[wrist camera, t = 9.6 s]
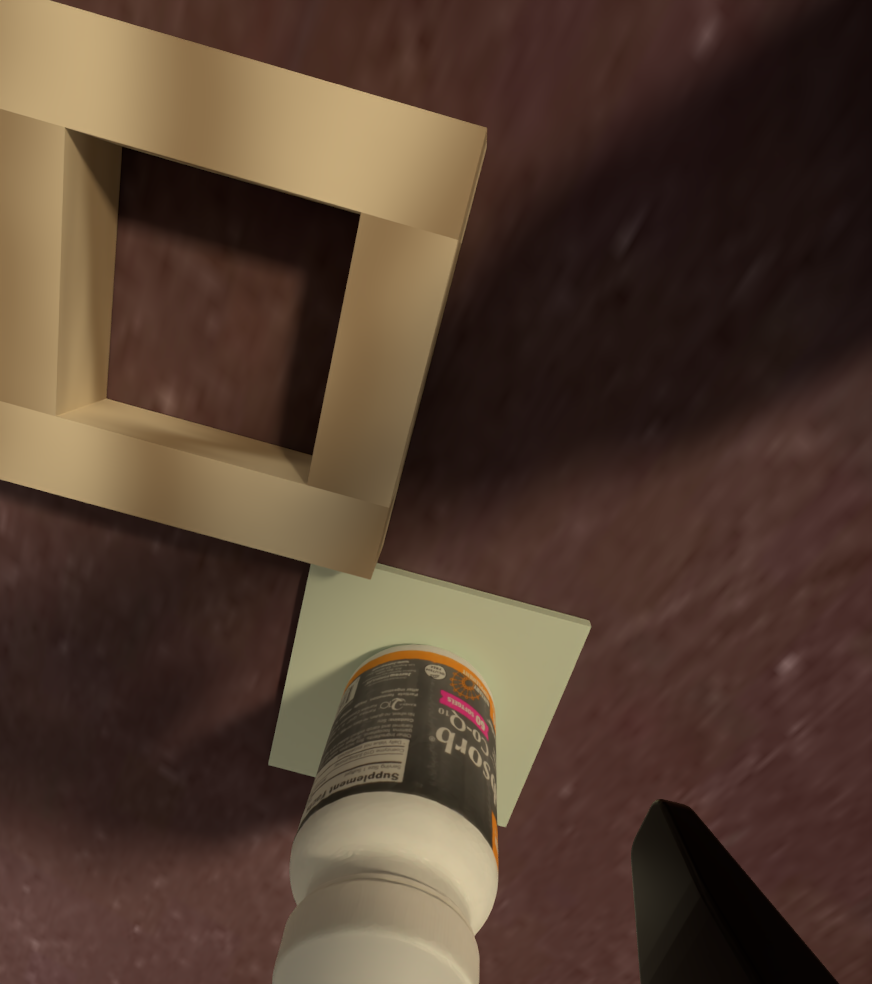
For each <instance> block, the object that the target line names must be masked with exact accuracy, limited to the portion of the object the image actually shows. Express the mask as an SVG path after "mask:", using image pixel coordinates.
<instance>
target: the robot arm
mask: <svg viewBox="0 0 872 984" xmlns="http://www.w3.org/2000/svg"><path fill="white" fill-rule="evenodd" d="M631 866H632V879H633V892H634V905H635V918H636V932H637V945H638V958H639V971H640V981H641V984H839V983H838V982H837V981H836V979H835V978H834V977H833V976H832V975H831V973H830V972H829V971H828V970H827V969H826V968H825V966H824V965H823V964H822V963H821V962H820V960H819V959H818V958H817V957H816V956H815V954H814V953H813V952H812V951H811V950H810V949H809V947H808V946H807V945H806V944H805V943H804V941H803V940H802V939H801V938H800V937H799V935H798V934H797V933H796V932H795V931H794V930H793V928H792V927H791V926H790V925H789V924H788V922H787V921H786V920H785V919H784V918H783V916H782V915H781V914H780V913H779V912H778V911H777V909H776V908H775V907H774V906H773V905H772V903H771V902H770V901H769V900H768V899H767V897H766V896H765V895H764V894H763V893H762V891H761V890H760V889H759V888H758V887H757V886H756V884H755V883H754V882H753V881H752V880H751V878H750V877H749V876H748V875H747V874H746V872H745V871H744V870H743V869H742V868H741V867H740V865H739V864H738V863H737V862H736V861H735V859H734V858H733V857H732V856H731V855H730V853H729V852H728V851H727V850H726V849H725V848H724V846H723V845H722V844H721V843H720V842H719V840H718V839H717V838H716V837H715V836H714V834H713V833H712V832H711V831H710V830H709V829H708V827H707V826H706V825H705V824H704V823H703V821H702V820H701V819H700V818H699V817H698V815H697V814H696V813H695V812H694V811H693V810H692V809H691V808H690V807H688V806H686V805H684V804H680V803H676V802H672V801H668V800H664V799H658V800H656V801H655V802H653V804H652V805H651V807H650V809H649V811H648V813H647V815H646V817H645V819H644V821H643V823H642V825H641V827H640V829H639V831H638V833H637V835H636V837H635V839H634V842H633V845H632V851H631Z"/></svg>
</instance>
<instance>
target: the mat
mask: <svg viewBox="0 0 872 984" xmlns="http://www.w3.org/2000/svg"><path fill="white" fill-rule="evenodd" d="M590 629H591V625H590V621H589V620H585V619H582V618H578V617H574V616H571V615H567V614H563V613H559V612H556V611H552V610H548V609H545V608H541V607H537V606H534V605H530V604H526V603H523V602H519V601H515V600H512V599H508V598H504V597H501V596H497V595H493V594H490V593H486V592H482V591H479V590H475V589H471V588H468V587H464V586H460V585H457V584H453V583H449V582H445V581H442V580H438V579H434V578H431V577H427V576H423V575H420V574H416V573H412V572H409V571H405V570H401V569H398V568H394V567H390V566H387V565H383V564H379V563H377V564H376V566H375V569H374V572H373V575H372V578H371V580H369V579H366V578H362V577H358V576H355V575H351V574H347V573H344V572H340V571H336V570H333V569H329V568H325V567H321V566H318V565H314V564H311V566H310V570H309V575H308V580H307V584H306V589H305V594H304V598H303V603H302V608H301V612H300V617H299V622H298V627H297V631H296V636H295V641H294V645H293V650H292V655H291V659H290V664H289V669H288V673H287V678H286V683H285V688H284V692H283V697H282V702H281V706H280V711H279V716H278V720H277V725H276V730H275V734H274V739H273V744H272V749H271V753H270V758H269V763H268V765H270V766H274V767H278V768H282V769H286V770H289V771H293V772H297V773H301V774H305V775H308V776H312V777H316V775H317V771H318V768H319V765H320V761H321V758H322V755H323V752H324V749H325V746H326V743H327V740H328V737H329V734H330V731H331V728H332V725H333V722H334V719H335V716H336V713H337V710H338V706H339V704H340V701H341V699H342V696H343V693H344V690H345V688H346V686H347V683H348V681H349V680H350V678H351V676H352V675H353V673H354V672H355V670H356V669H357V668H358V667H359V666H360V665H361V664H362V663H363V662H365V661H366V660H367V659H369V658H370V657H372V656H373V655H375V654H377V653H379V652H381V651H383V650H385V649H388V648H391V647H395V646H401V645H411V644H417V645H430V646H435V647H439V648H441V649H444V650H447V651H450V652H452V653H454V654H456V655H458V656H459V657H461V658H463V659H465V660H466V661H468V662H469V663H470V664H471V665H472V666H473V667H474V668H475V669H476V670H477V671H478V672H479V673H480V674H481V676H482V677H483V678H484V680H485V681H486V683H487V685H488V687H489V689H490V691H491V693H492V696H493V701H494V706H495V717H496V772H497V776H496V780H497V825H499V826H503V827H506V825H507V823H508V821H509V818H510V816H511V814H512V811H513V809H514V807H515V804H516V802H517V800H518V797H519V795H520V792H521V790H522V788H523V785H524V783H525V781H526V778H527V776H528V774H529V771H530V769H531V767H532V764H533V762H534V760H535V757H536V755H537V753H538V750H539V748H540V746H541V743H542V741H543V739H544V736H545V734H546V732H547V729H548V727H549V725H550V722H551V720H552V718H553V715H554V713H555V711H556V708H557V706H558V704H559V701H560V699H561V696H562V694H563V692H564V689H565V687H566V685H567V682H568V680H569V678H570V675H571V673H572V671H573V668H574V666H575V664H576V661H577V659H578V657H579V654H580V652H581V650H582V647H583V645H584V643H585V640H586V638H587V636H588V633H589V631H590Z"/></svg>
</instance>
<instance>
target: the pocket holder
mask: <svg viewBox="0 0 872 984" xmlns="http://www.w3.org/2000/svg"><path fill="white" fill-rule="evenodd" d="M122 147H126V148H129V149H133V150H136V151H140V152H143V153H147V154H150V155H154V156H157V157H161V158H164V159H168V160H171V161H175V162H178V163H182V164H185V165H189V166H192V167H196V168H199V169H203V170H206V171H210V172H213V173H217V174H220V175H224V176H227V177H230V178H234V179H237V180H241V181H244V182H248V183H251V184H255V185H258V186H262V187H265V188H269V189H272V190H276V191H279V192H283V193H286V194H290V195H293V196H297V197H300V198H304V199H307V200H311V201H314V202H318V203H321V204H325V205H328V206H332V207H335V208H339V209H342V210H346V211H349V212H353V213H356V214H360V215H361V216H360V221H359V226H358V231H357V236H356V241H355V246H354V251H353V256H352V261H351V266H350V271H349V276H348V281H347V286H346V291H345V296H344V301H343V306H342V311H341V316H340V321H339V326H338V331H337V336H336V341H335V346H334V351H333V356H332V361H331V366H330V371H329V376H328V381H327V386H326V391H325V396H324V401H323V406H322V411H321V416H320V421H319V426H318V431H317V436H316V441H315V446H314V451H313V455H309V454H305V453H302V452H298V451H295V450H291V449H287V448H284V447H280V446H276V445H273V444H269V443H266V442H262V441H258V440H255V439H251V438H247V437H244V436H240V435H237V434H233V433H229V432H226V431H222V430H218V429H215V428H211V427H207V426H204V425H200V424H197V423H193V422H189V421H186V420H182V419H178V418H175V417H171V416H168V415H164V414H160V413H157V412H153V411H149V410H146V409H142V408H139V407H135V406H131V405H128V404H124V403H120V402H117V401H113V400H110V399H106V395H107V379H108V363H109V347H110V332H111V316H112V300H113V284H114V269H115V253H116V237H117V221H118V206H119V190H120V174H121V158H122ZM486 147H487V128H485V127H481V126H478V125H475V124H471V123H468V122H464V121H461V120H457V119H454V118H451V117H447V116H444V115H440V114H437V113H434V112H430V111H427V110H423V109H420V108H416V107H413V106H410V105H406V104H403V103H399V102H396V101H392V100H389V99H386V98H382V97H379V96H375V95H372V94H368V93H365V92H362V91H358V90H355V89H351V88H348V87H344V86H341V85H338V84H334V83H331V82H327V81H324V80H320V79H317V78H314V77H310V76H307V75H303V74H300V73H297V72H293V71H290V70H286V69H283V68H279V67H276V66H273V65H269V64H266V63H262V62H259V61H255V60H252V59H249V58H245V57H242V56H238V55H235V54H231V53H228V52H225V51H221V50H218V49H214V48H211V47H207V46H204V45H201V44H197V43H194V42H190V41H187V40H184V39H180V38H177V37H173V36H170V35H166V34H163V33H160V32H156V31H153V30H149V29H146V28H142V27H139V26H136V25H132V24H129V23H125V22H122V21H118V20H115V19H112V18H108V17H105V16H101V15H98V14H94V13H91V12H88V11H84V10H81V9H77V8H74V7H71V6H67V5H64V4H60V3H57V2H53V1H50V0H0V479H1V480H4V481H8V482H12V483H15V484H19V485H23V486H26V487H30V488H34V489H37V490H41V491H45V492H48V493H52V494H56V495H60V496H63V497H67V498H71V499H74V500H78V501H82V502H85V503H89V504H93V505H96V506H100V507H104V508H107V509H111V510H115V511H119V512H122V513H126V514H130V515H133V516H137V517H141V518H144V519H148V520H152V521H155V522H159V523H163V524H167V525H170V526H174V527H178V528H181V529H185V530H189V531H192V532H196V533H200V534H203V535H207V536H211V537H214V538H218V539H222V540H226V541H229V542H233V543H237V544H240V545H244V546H248V547H251V548H255V549H259V550H262V551H266V552H270V553H273V554H277V555H281V556H285V557H288V558H292V559H296V560H299V561H303V562H307V563H310V564H314V565H318V566H321V567H325V568H329V569H333V570H336V571H340V572H344V573H347V574H351V575H355V576H358V577H362V578H366V579H369V580H371V578H372V575H373V572H374V569H375V566H376V564H377V561H378V558H379V555H380V552H381V550H382V547H383V544H384V540H385V536H386V532H387V528H388V525H389V521H390V517H391V513H392V509H393V505H394V502H395V498H396V494H397V490H398V486H399V482H400V478H401V475H402V471H403V467H404V463H405V459H406V455H407V452H408V448H409V444H410V440H411V436H412V432H413V428H414V425H415V421H416V417H417V413H418V409H419V405H420V402H421V398H422V394H423V390H424V386H425V382H426V378H427V375H428V371H429V367H430V363H431V359H432V355H433V352H434V348H435V344H436V340H437V336H438V332H439V329H440V325H441V321H442V317H443V313H444V309H445V305H446V302H447V298H448V294H449V290H450V286H451V282H452V279H453V275H454V271H455V267H456V263H457V259H458V255H459V252H460V248H461V244H462V240H463V236H464V232H465V229H466V225H467V221H468V217H469V213H470V209H471V205H472V202H473V198H474V194H475V190H476V186H477V182H478V179H479V175H480V171H481V167H482V163H483V159H484V155H485V152H486Z"/></svg>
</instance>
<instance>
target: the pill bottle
mask: <svg viewBox="0 0 872 984" xmlns="http://www.w3.org/2000/svg"><path fill="white" fill-rule="evenodd" d="M496 776H497V772H496V717H495V706H494V701H493V696H492V693H491V691H490V689H489V687H488V685H487V683H486V681H485V680H484V678H483V677H482V676H481V674H480V673H479V672H478V671H477V670H476V669H475V668H474V667H473V666H472V665H471V664H470V663H469V662H468V661H466V660H465V659H463V658H461V657H459V656H458V655H456V654H454V653H452V652H450V651H447V650H444V649H441V648H439V647H435V646H430V645H417V644H411V645H401V646H395V647H391V648H388V649H385V650H383V651H381V652H379V653H377V654H375V655H373V656H372V657H370V658H369V659H367V660H366V661H365V662H363V663H362V664H361V665H360V666H359V667H358V668H357V669H356V670H355V672H354V673H353V675H352V676H351V678H350V680H349V681H348V683H347V686H346V688H345V690H344V693H343V696H342V699H341V701H340V704H339V706H338V710H337V713H336V716H335V719H334V722H333V725H332V728H331V731H330V734H329V737H328V740H327V743H326V746H325V749H324V752H323V755H322V758H321V761H320V765H319V768H318V771H317V775H316V778H315V781H314V784H313V787H312V789H311V792H310V795H309V798H308V801H307V804H306V807H305V810H304V813H303V815H302V818H301V821H300V824H299V828H298V831H297V834H296V836H295V838H294V842H293V846H292V851H291V859H290V882H291V888H292V892H293V896H294V899H295V902H296V904H297V907H296V908H295V909H294V911H293V912H292V913H291V915H290V917H289V919H288V921H287V923H286V926H285V929H284V934H283V938H282V941H281V945H280V949H279V952H278V956H277V959H276V963H275V967H274V972H273V980H272V984H479V952H478V947H477V943H476V940H475V937H474V936H475V935H476V933H477V932H478V931H479V930H480V929H481V927H482V926H483V924H484V923H485V921H486V920H487V918H488V916H489V914H490V912H491V910H492V907H493V904H494V901H495V897H496V893H497V887H498V826H497V780H496Z"/></svg>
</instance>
